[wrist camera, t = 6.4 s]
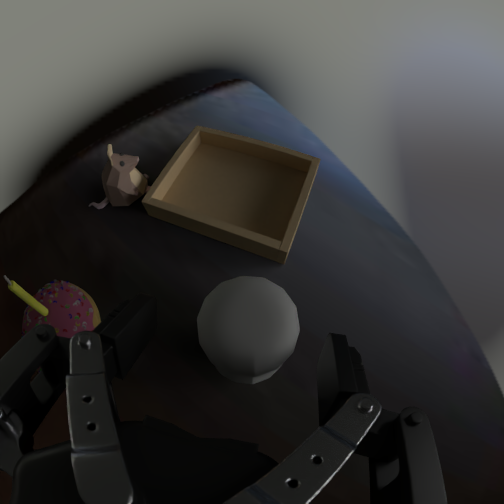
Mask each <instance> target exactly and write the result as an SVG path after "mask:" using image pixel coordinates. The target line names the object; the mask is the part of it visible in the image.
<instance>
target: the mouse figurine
mask: <svg viewBox="0 0 504 504" xmlns="http://www.w3.org/2000/svg"><path fill="white" fill-rule="evenodd" d="M107 156H108V161H107V163H106V165H105V167H104V169H103V172H102V175H101V176H102V182H103V187H104V191H105V194H106V198H105V199H104V200H103V201H102V202H101V203H99V204H97V203H95V202H93V203H90V205H89V207H90V206H94V207H95V208H97V209H101V208H104V207H105V206H106V205H107V204H108V203H109V201H110V203H111V204H112V206H129V205H130V204H132V203H133V202H134V201H136V200H137V199H138V198H140V197H141V196H142V195H143V194H144V193H147V192H148V191H149V189H150V188H151V186H148V182H147V179H149V176H148V175H147V174H142V173H141V172H139V171H138V170H137V169H136V168H135V166H136V165H137V164H138V161H139V157H137V156H130V155H124V154H123V153H120V154H114V153H113V152H112V145H110V144H108V153H107Z"/></svg>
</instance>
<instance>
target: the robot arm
mask: <svg viewBox="0 0 504 504" xmlns="http://www.w3.org/2000/svg"><path fill="white" fill-rule="evenodd" d="M156 328H157V305H156V297H155V296H152V295H148V294H145V293H139V294H138V295H137V296H136V297H135V298H134V299H133V300H132V301H131V300H127V301H124V302H122V303H120V304H119V305H118V306H117V307H116V308H115V309H114V310H113V311H112V312H111V313H110V314H109V315H108V316H106V317H105V318H104V319H103V320H102V321H101V322H100V323H99V324H98V325H97V326H96V327H95V328H94V329H93V330H92V331H81V332H78V333H76V334H74V335H73V336H72V338H67V337H61V336H57V334H56V330H55V328H54V327H53V326H51V325H49V324H40V325H37V326H35V327H33V328H32V329H31V330H30V331H29V332H28V333H26V334H25V335H24V336H23V337H22V338H21V339H20V340H19V341H18V342H17V343H16V344H15V345H14V346H13V347H12V348H11V349H10V350H9V351H8V352H7V353H6V354H5V355H4V356H3V357H2V358H1V359H0V470H2V471H5V472H6V473H7V474H9V475H10V476H11V477H12V495H11V500H10V504H312V503H311V502H310V501H311V500H312V499H313V498H314V497H315V496H316V495H317V494H318V493H319V492H320V491H321V490H322V489H323V488H324V487H325V486H326V484H327V483H328V482H329V481H330V480H331V479H332V478H333V477H334V475H335V474H336V473H337V472H338V471H339V470H340V468H341V467H342V466H343V465H344V464H345V462H346V461H347V460H348V459H349V458H350V456H351V455H352V454H353V453H356V454H359V455H363V456H367V457H369V471H370V504H447V499H446V493H445V487H444V481H443V476H442V471H441V466H440V462H439V457H438V453H437V449H436V445H435V441H434V437H433V433H432V429H431V426H430V422H429V419H428V417H427V415H426V414H425V413H424V412H423V411H422V410H420V409H418V408H415V407H408V408H405V409H403V410H402V412H401V413H400V414H398V413H394V412H391V411H387V410H384V409H382V408H381V404H380V402H379V401H378V400H377V399H376V398H375V397H374V396H372V395H370V391H369V387H368V383H367V379H366V375H365V371H364V367H363V365H362V359H361V355H360V354H359V353H358V351H357V350H356V349H355V348H354V347H349V346H348V342H347V338H346V335H341V334H334V333H329V334H328V336H327V338H326V341H325V344H324V346H323V349H322V352H321V354H320V357H319V360H318V364H317V383H318V402H319V426H320V427H319V428H318V429H317V430H316V431H315V432H314V433H313V434H312V435H310V436H309V437H308V438H307V439H306V440H305V441H304V442H303V443H302V444H301V445H300V446H299V447H298V448H297V449H295V450H294V451H293V452H292V453H291V454H290V455H289V456H288V457H286V458H285V459H284V460H283V461H282V462H281V463H277V462H276V461H275V460H273V459H272V458H270V457H269V456H267V455H265V454H263V453H260V452H258V446H259V444H255V443H249V442H244V441H238V440H233V439H215V438H199V437H196V436H194V435H192V434H190V433H188V432H186V431H185V430H183V429H181V428H179V427H177V426H176V425H174V424H172V423H169V422H166V421H163V420H160V419H157V418H154V417H151V416H148V415H146V416H145V418H144V420H143V421H124V422H121V421H120V418H119V415H118V411H117V406H116V402H115V397H114V393H113V388H112V383H111V380H112V379H113V377H114V376H115V377H117V378H120V379H122V380H123V379H124V377H125V376H126V374H127V373H128V371H129V370H130V369H131V367H132V366H133V364H134V363H135V361H136V360H137V358H138V357H139V356H140V354H141V353H142V351H143V350H144V349H145V347H146V346H147V344H148V343H149V341H150V340H151V339H152V337H153V336H154V334H155V332H156ZM39 367H41V369H42V370H41V371H40V372H39V373H38V375H37V376H36V377H35V378H34V379H33V381H32V382H31V383H30V379H31V376H32V375H33V374H34V372H35V371H36V370H37V369H38V368H39ZM65 388H66V393H67V408H68V419H69V428H70V436H71V440H68V441H65V442H62V443H59V444H55V445H52V446H49V447H45V448H42V449H38V450H35V451H34V449H33V444H34V439H33V434H34V433H35V431H36V430H37V428H38V427H39V425H40V424H41V422H42V421H43V419H44V418H45V416H46V415H47V413H48V412H49V410H50V409H51V408H52V406H53V405H54V403H55V402H56V400H57V399H58V398H59V396H60V395H61V393H62V392H63V391H64V389H65Z"/></svg>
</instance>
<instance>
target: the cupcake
mask: <svg viewBox="0 0 504 504" xmlns="http://www.w3.org/2000/svg"><path fill="white" fill-rule="evenodd" d="M4 279H5V280H6V281H7V282H8V283H9V284H8V288H9V289H10V290H11V291H12V292H13V293H14V294H16V295H17V296H18V297H19V298H21V299H22V300H23V301H25V302H26V303H27V304H28V305H27V307H26V308H27V309H26V308H25V309H26V310H25V311H24V316H23V325H22V333H21V334H23V336H24V335H25V334H26V333H28V332H29V331H30V330H31V329H32V328H33V327H35V326H37V325H40V324H49V325H51V326H53V327H54V328H55V330H56V334H57V336H61V337H67V338H72V336H73V335H74V334H76V333H78V332H81V331H92V330H93V329H94V328H95V327H96V326H97V325H98V324H99V323H100V322H101V320H100V316H99V312H98V309H97V306H96V304H95V302H94V301H93V299H92V298H91V297H90V296H89V295H88V294H87V293H86V292H85V291H84V290H82V289H81V288H79V287H78V286H76V285H73V284H71V283H69V281H67V282H65V281H62V280H61V281H60V280H59V281H57V280H56V281H55V280H54V282H50V283H48V284H46V285H45V286H44V287H42V289H40V290H39V291H38V293H37V294H36V295H33V296H34V297H33V296H31V295H30V294H28V293H27V292H26V291H25V290H24V289H22V288H21V287H20V286H19V285H18V284H17V283H16V282H14V281H13V280H11V281H10V280H9V279H8V278H7V277H6V275H4ZM23 336H22V337H23ZM41 370H42V369H41V367H39V368H38V369H37V370H36V371H38V372H40V371H41Z"/></svg>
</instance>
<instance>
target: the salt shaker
mask: <svg viewBox="0 0 504 504" xmlns="http://www.w3.org/2000/svg"><path fill="white" fill-rule="evenodd" d="M197 326H198V336H199V344H200V345H201V347H202V349H203V350H204V352H205V354H206V355H207V357H208V358H209V360H210V362H211V363H212V364H214V365H215V367H216V368H217V370H218V372H219V373H220V374H222V375H223V376H225V377H227V378H229V379H230V380H232V381H234V382H237V383H246V384H254V383H257V382H260V381H263V380H265V379H268V378H270V377H271V376H272V375H273V374H274V373H275V372H276V371H277V370H278V369H279V368H280V367H281V366H282V364H283V363H284V362H285V361H286V360H287V359H288V358H289V356H290V355H291V354H292V353H293V352H294V348H295V345H296V341H297V338H298V334H299V331H300V327H299V321H298V315H297V309H296V306H295V304H294V303H293V302H292V300H291V299H290V297H289V296H288V295H287V293H286V292H285V291H284V289H283V288H281V287H279V286H278V285H276V284H274V283H272V282H271V281H269V280H267V279H265V278H262V277H250V276H240V277H237V278H234V279H231V280H228V281H225V282H222V283H220V284H219V285H218V286H217V287H216V288H215V289H214V290H213V291H212V292H211V293H210V294H209V295H208V296H207V297H206V298H205V300H204V302H203V304H202V307H201V309H200V312H199V314H198V317H197Z"/></svg>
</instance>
